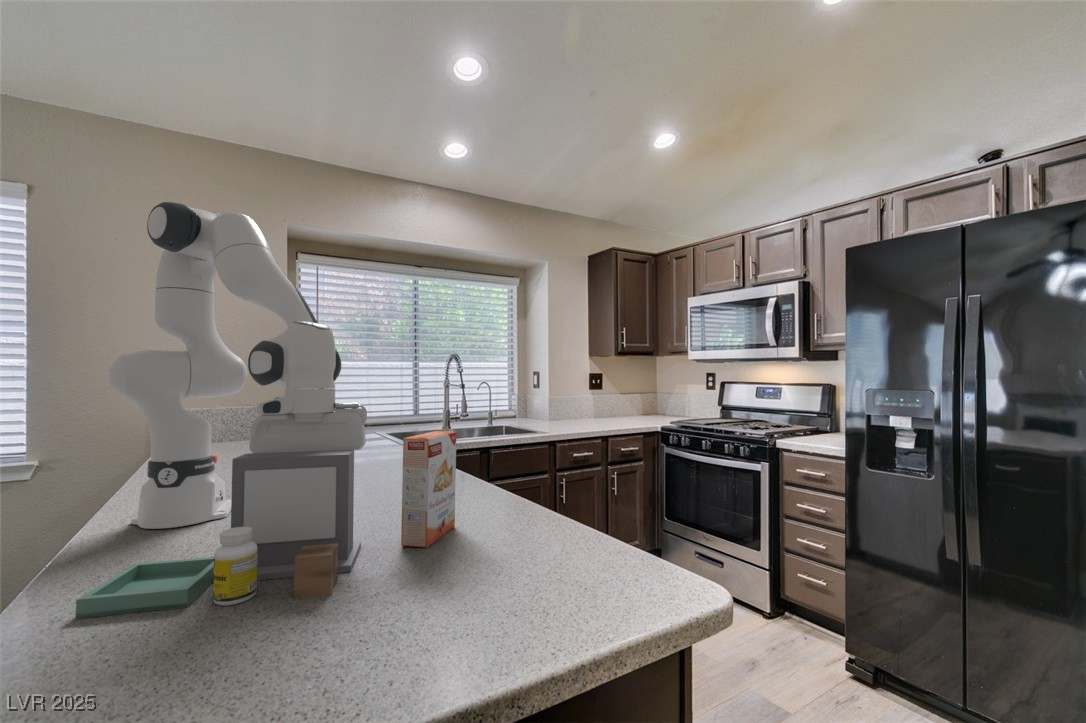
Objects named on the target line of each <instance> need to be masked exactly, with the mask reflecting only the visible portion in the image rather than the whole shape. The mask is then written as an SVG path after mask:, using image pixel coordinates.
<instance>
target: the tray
mask: <svg viewBox="0 0 1086 723" xmlns="http://www.w3.org/2000/svg"><path fill="white" fill-rule="evenodd" d="M213 584H214V556H210V557H209V556H206V557H197V558H196V557H195V558H185V559H173V560H172V559H171V560H159V561H149V562H148V561H147V562H138V563H137V562H136V563H133V564H131V565H130V566H128V567H127V568H126V569H124V570H122V571H121V572H119V573H118V574H116V575H114V576H113V577H111V578H109V579H107V580H106V581H104V582H103V583H101V584H100V585H98V586H96V587H95V588H93V589H92V590H90V591H88V592H86V593H85V594H83V595H81V596H80V597H79V598H77V599H75V620H76V619H77V620H78V619H85V618H87V619H89V618H95V617H107V616H115V615H124V614H125V615H126V614H136V613H142V612H143V613H144V612H145V613H146V612H155V611H162V610H163V611H164V610H172V609H173V610H174V609H183V608H188V607H189V606H191V604H192V603H193V602H195V600H197V599H198V598H199V597H200V596H201V595H202V594H203V593H204V592H205V591H206V590H207V589H208V588H209V587H210V586H212V585H213Z"/></svg>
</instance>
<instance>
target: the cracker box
mask: <svg viewBox="0 0 1086 723" xmlns="http://www.w3.org/2000/svg"><path fill="white" fill-rule="evenodd" d="M402 446H403V448H402V486H401V487H402V488H401V490H402V493H401V496H402V497H401V530H400V531H401V538H400V545H401V546H402V547H414V548H422V549H423V548H425V549H427V548H429V547H430V546H432V544H434V543H435V542H436V541H438V540H439V539H440V538H441V537H443V536H444V535H445V534H447V533H448V532H449V531H451V530H453V528H455V525H456V524H455V522H456V515H455V514H456V480H457V479H456V475H457V474H456V469H457V468H456V467H457V432H456V431H452V430H450V431H448V430H447V431H445V430H434V431H429V432H425V433H420V434H416V435H411V436H408V437H403V445H402Z"/></svg>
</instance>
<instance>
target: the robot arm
mask: <svg viewBox="0 0 1086 723" xmlns="http://www.w3.org/2000/svg"><path fill="white" fill-rule="evenodd" d="M146 222H147V223H146V229H147V230H146V231H147V235H148V237H149V238H150V240H151V242H152V244H154V245H156V246H157V247H159V248H161V249H164V250H163V251H162V252H161V255H160V258H159V262H158V266H157V270H156V279H155V293H154V294H155V295H154V297H155V298H154V321H155V323H156V325H157V327H159V329H160V330H162V331H164V332H165V333H166V334H169V335H171V336H174V337H176V338H177V339H178V338H179V339H180V340H181V341H182V342H183V343H184V346H185V348H186V350H184V351H183V350H180V351H179V350H163V349H162V350H159V349H158V350H157V349H156V350H155V349H147V350H145V349H144V350H137V351H129V352H123V353H121V354H120V355H118V356H117V357H116V358H115V359H114V360H113V362H112V363H111V365H110V367H109V370H108V381H109V384H110V386H111V388H112V389H113V390H114V392H116V393H117V394H118V395H120V396H121V397H123V398H125V399H127V400H128V401H130V402H131V403H132V404H133V405H135V406H136V407H137V408H138V410H140V412H141V413H142V414H143V416H144V417H145V419H146V422H147V424H148V427H149V428H148V429H149V437H150V460H149V461H148V462H147V467H146V471H147V478H148V480H147V481H146V482H145V483H143V485H141V487H140V492H139V501H138V507H137V515H136V517H132V518H131V520H130V524H131V525H137V526H138V527H139V528H142V529H146V530H147V529H148V530H149V529H152V530H155V529H157V530H158V529H161V530H162V529H172V528H178V527H179V528H180V527H185V526H190V525H195V524H199V523H204V522H207V521H211V520H218V519H223V518H226V517H228V515H229V514H230V513H231V500H232V498H227V495H226V494H227V492H226V491H227V487H226V486H227V485H226V482H225V481H224V480H223V479H221V477H220V476H219V475H218V474H217V473H216V472H215V471H214V470H215V469H216V468H215V464H217V463H218V459H219V458H218V455H217V454H214V455H212V425H211V423H210V421H208V419H207V418H205V417H203V416H201V415H198V414H196V413H193V412H191V411H187V410H185V409H184V407H183V405H182V400H183V399H195V398H196V399H201V398H203V399H204V398H220V397H225V396H230V395H234V394H238V393H240V392H241V391H242V390H243V388H244V387H245V385H246V384H247V381H248V377H249V376H248V374H250V376H251V378H252V379H253V380H254V381H255V382H256V383H257V384H258V385H260V386H264V387H267V388H268V387H270V388H284V395H283V396H278V397H274V398H273V399H270V400H266V401H263V402H260V403H258V404H256V409H255V410H256V414H258V416H257V417H255V419H254V420H253V421H252V424H251V429H250V435H249V450H250V451H251V453H278V452H305V451H332V450H354V451H359V450H361V449H363V448H364V447H365V446H366V439H367V438H366V430H365V429H366V428H365V424H366V423H367V421H368V420H367V419H368V412H367V408H366V407H364V405H361V404H359V402H352V403H346V402H340V403H339V402H337V403H336V383H335V381H336V380H337V379H338V378H339V375H340V374H341V371H342V360H341V356H340V354H339V352H338V350H337V349H336V342H335V336H334V332H333V329H332V328H330V326H328V325H326V324H325V323H324V324H323V323H318V321H317V319H316V317H315V315H314V313H313V312H312V310H311V308H310V306H309V304H308V302H307V301H306V299H305V297H304V296H303V294H302V293H301V292H300V290H299V289H298V287H296V286H295V284H293V282H291V281H290V279H288V277H287V276H286V275H285V273H283V271H282V270H281V268H280V266H279V265H278V263H277V260H276V259H275V257H274V255H273V253H272V250H271V248H270V246H269V243H268V241H267V239H266V238H265V235H264V234H263V231H261V229H260V228H259V226H258V224H257V223H256V222H255V221H254V220H253V219H252V218H251V217H250V216H248V215H246V214H243V213H239V212H226V213H218V212H215V211H208V210H205V209H201V208H197V207H192V206H187V205H186V204H184V203H180V202H179V203H178V202H172V201H171V202H170V201H163V202H160V203H158V204H157V205H156V206H153V208H152V209H151V211H150V213H148V218H147V221H146ZM216 271H217V274H218V277H219V279H220V281H221V283H222V284H223V285H224V287H225V288H226V289H227V291H229V292H230V293H232V294H233V295H234V296H236V297H237V298H239V299H241V300H244V301H246V302H249V303H251V304H255V305H257V306H259V307H262V308H265V309H266V310H269V311H270V312H272V313H274V314H275V315H277V316H278V317H280V318H281V320H283V321H284V323H285V324H286V326H287V327H286V329H285V330H284V331H283V332H282V333H280V334H278V335H276V336H274V337H272V338H269V339H267V340H261V341H260V342H258V343H257V344H255V345H254V347H253V348H252V349H251V350H250V353H249V355H248V360H247V361H248V363H247V365H246V363H245V362H244V361H243V359H242V358H241V357H239V356H238V355H236V354H235V353H234V352H233V351H231V350H230V349H229V348H228V347H227V346H226V344H225V343H224V341H223V340H222V338H221V336H220V334H219V332H218V329H217V325H216V317H215V316H216V315H215V273H216ZM247 366H248V368H247ZM229 512H230V513H229Z"/></svg>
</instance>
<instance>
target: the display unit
mask: <svg viewBox="0 0 1086 723" xmlns="http://www.w3.org/2000/svg"><path fill="white" fill-rule="evenodd" d="M231 460H232V463H231V465H232V466H231V470H232V471H231V499H232V500H231V511H230V513H231V514H230V529H231V528H236V527H251V528H252V539H251V540H250V541H252V542H254V543H256V544H257V581H265V580H276V579H285V578H294V570H295V557H296V556H297V554H298V553H299V552H300V550H301V549H302V548H303V546H313V545H325V544H337V543H338V563H337V574H338V573H339V574H340V573H348V572H349V573H351V572H352V570H353V568H354V565H355V563H356V560H357V558H358V556H359V552H360V550H361V548H362V541H354V503H355V501H354V499H355V497H354V495H355V494H354V493H355V486H354V485H355V482H354V481H355V450H332V451H305V452H278V453H252V452H251V453H245V454H242V455H240V456H237V457H234V458H232V459H231Z"/></svg>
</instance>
